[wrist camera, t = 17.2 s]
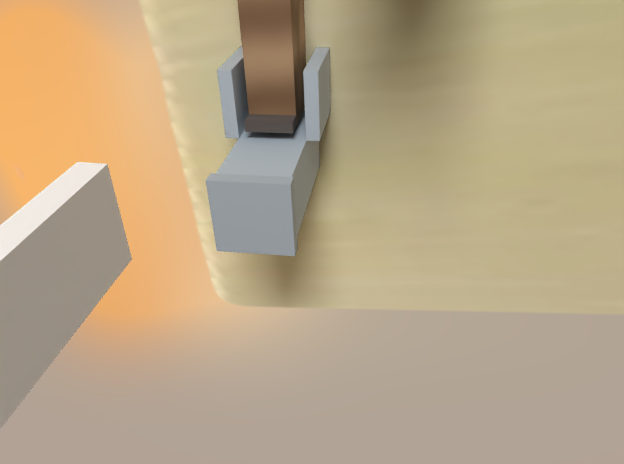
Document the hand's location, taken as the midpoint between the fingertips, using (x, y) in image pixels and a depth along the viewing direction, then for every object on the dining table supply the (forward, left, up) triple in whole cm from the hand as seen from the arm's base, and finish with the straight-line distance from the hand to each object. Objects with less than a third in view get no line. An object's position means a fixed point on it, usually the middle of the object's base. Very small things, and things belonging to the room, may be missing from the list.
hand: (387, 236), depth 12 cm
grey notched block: (+9, -9, -31) cm, 34 cm away
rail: (0, -9, -31) cm, 33 cm away
